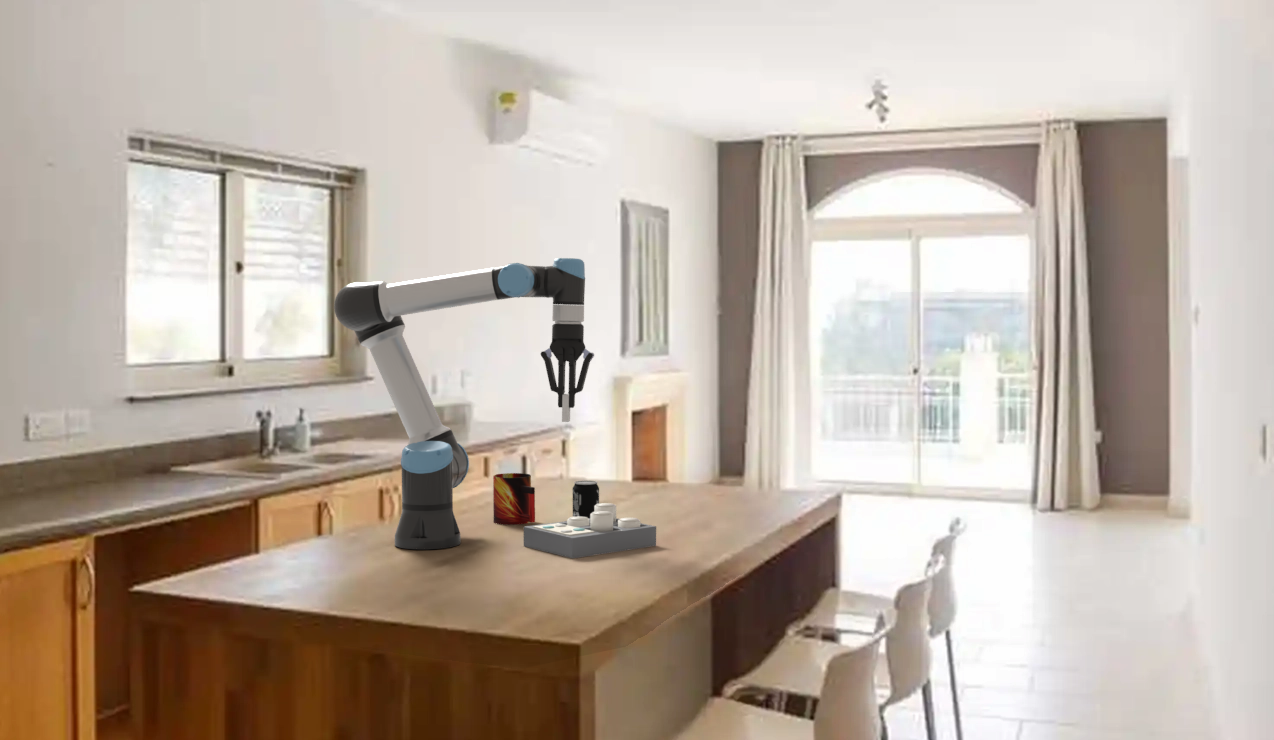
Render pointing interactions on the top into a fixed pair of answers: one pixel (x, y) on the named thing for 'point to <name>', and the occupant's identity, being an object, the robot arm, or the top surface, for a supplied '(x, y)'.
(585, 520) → the button
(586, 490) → the beverage can
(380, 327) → the robot arm
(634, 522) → the button
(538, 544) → the board
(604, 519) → the button
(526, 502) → the mug
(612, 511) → the button
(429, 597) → the top surface
